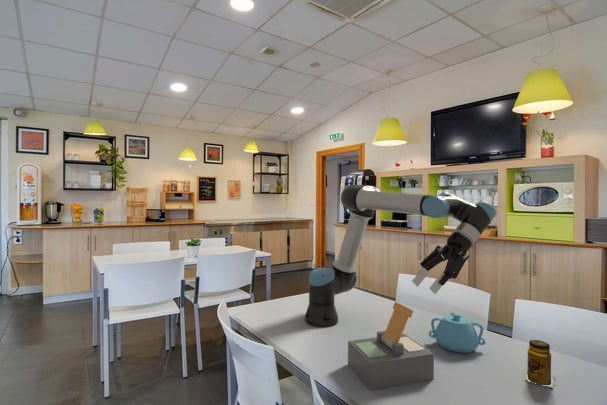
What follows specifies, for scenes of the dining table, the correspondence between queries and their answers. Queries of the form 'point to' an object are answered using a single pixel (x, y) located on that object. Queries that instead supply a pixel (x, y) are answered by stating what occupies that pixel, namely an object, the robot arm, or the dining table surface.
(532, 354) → the condiment
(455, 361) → the dining table surface
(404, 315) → the breaker lever
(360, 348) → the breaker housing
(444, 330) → the teapot
